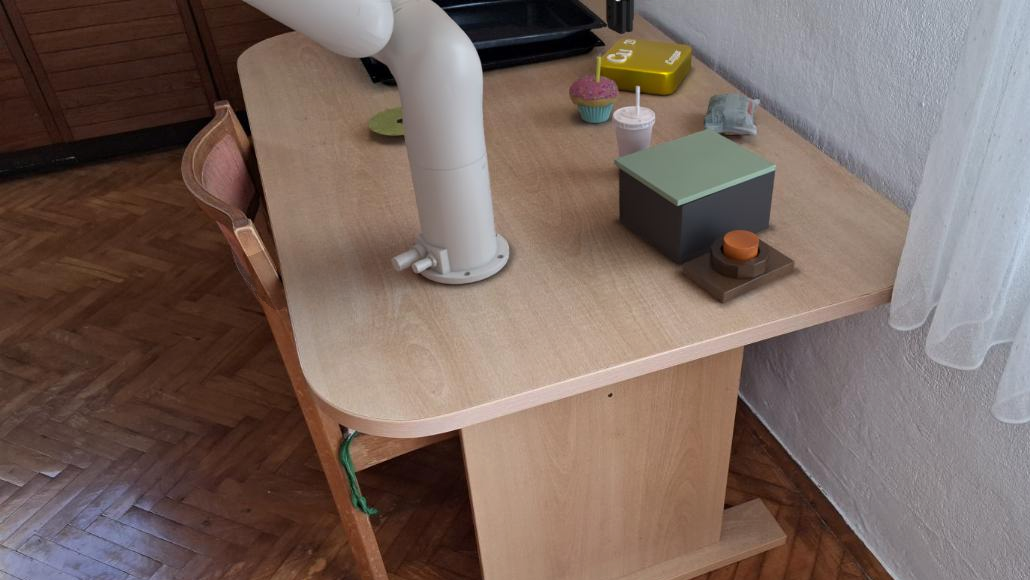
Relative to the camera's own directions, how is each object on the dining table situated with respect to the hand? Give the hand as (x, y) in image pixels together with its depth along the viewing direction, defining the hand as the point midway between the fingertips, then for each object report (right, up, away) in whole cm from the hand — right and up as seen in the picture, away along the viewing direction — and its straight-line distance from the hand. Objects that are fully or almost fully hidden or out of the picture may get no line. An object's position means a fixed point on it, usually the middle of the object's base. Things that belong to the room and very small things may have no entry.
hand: (620, 29), depth 105 cm
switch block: (+15, -29, +6) cm, 34 cm away
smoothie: (+3, -13, +28) cm, 30 cm away
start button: (+15, -27, +4) cm, 31 cm away
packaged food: (+20, -3, +39) cm, 44 cm away
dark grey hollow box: (+11, -22, +15) cm, 29 cm away
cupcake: (-3, 0, +44) cm, 44 cm away
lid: (+10, -15, +10) cm, 20 cm away
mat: (-36, -3, +41) cm, 55 cm away
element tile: (+6, +11, +57) cm, 59 cm away
